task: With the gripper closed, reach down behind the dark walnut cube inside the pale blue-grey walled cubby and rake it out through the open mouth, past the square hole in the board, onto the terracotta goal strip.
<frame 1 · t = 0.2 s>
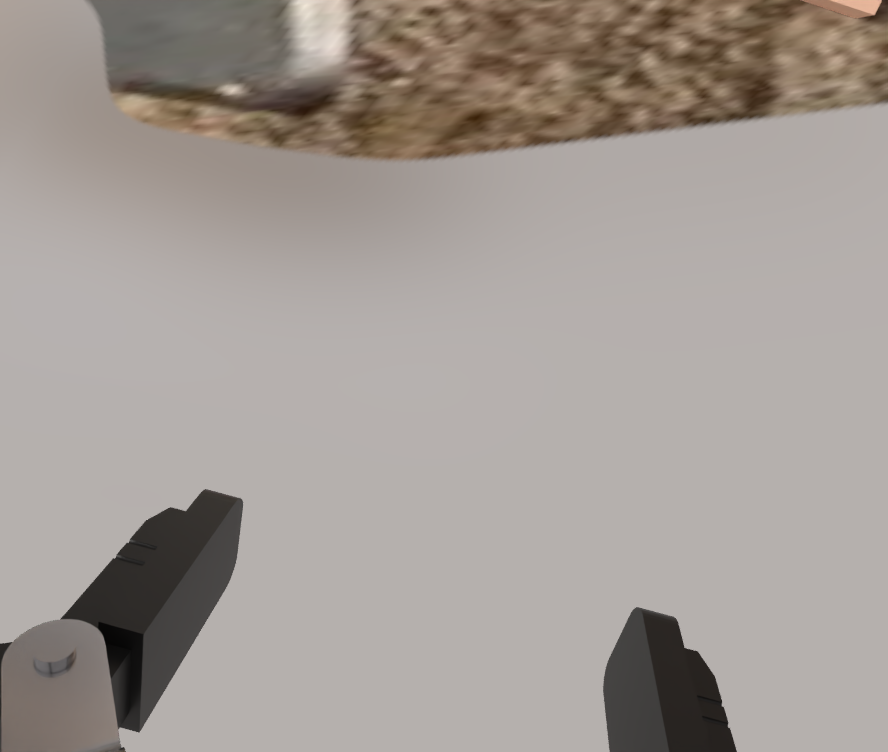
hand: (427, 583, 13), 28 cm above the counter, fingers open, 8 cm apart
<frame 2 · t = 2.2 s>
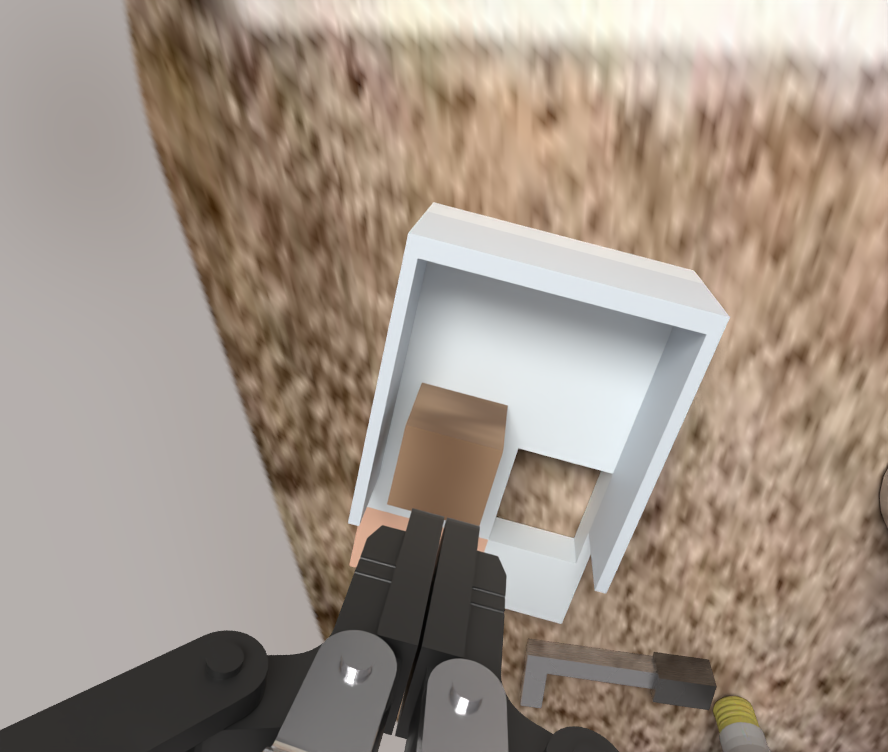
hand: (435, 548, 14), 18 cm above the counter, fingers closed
light bulb: (729, 697, 38), on the counter
walnut cube: (454, 431, 31), point 2 cm above the counter, touching cubby
hook tool: (597, 656, 38), on the counter
cubby: (502, 432, 33), on the counter
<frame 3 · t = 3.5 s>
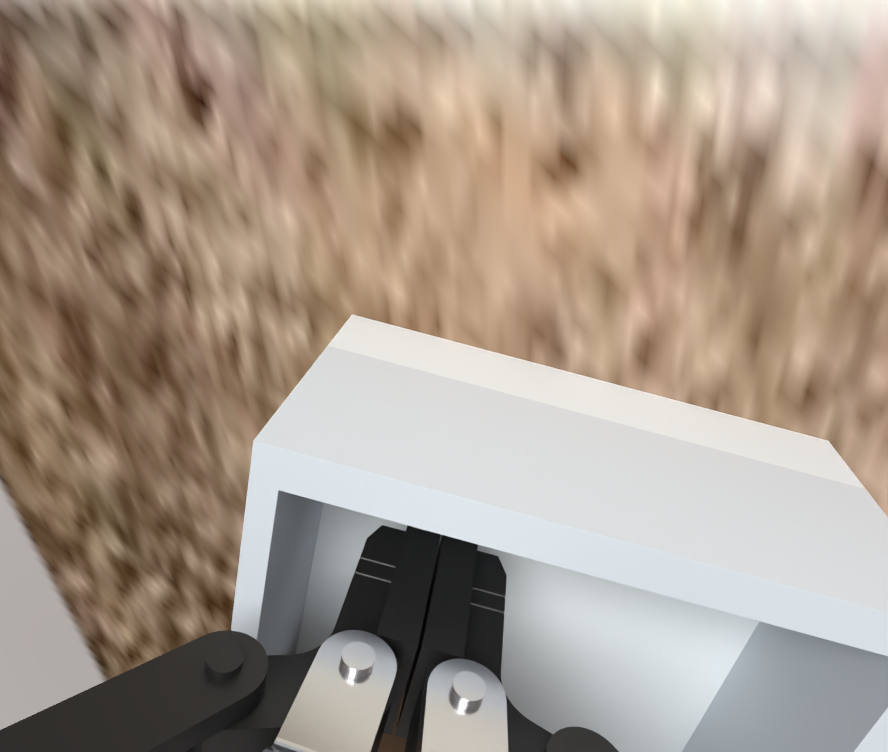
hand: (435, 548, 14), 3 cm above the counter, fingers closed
walnut cube: (398, 693, 18), point 2 cm above the counter, touching cubby
cubby: (482, 669, 20), on the counter
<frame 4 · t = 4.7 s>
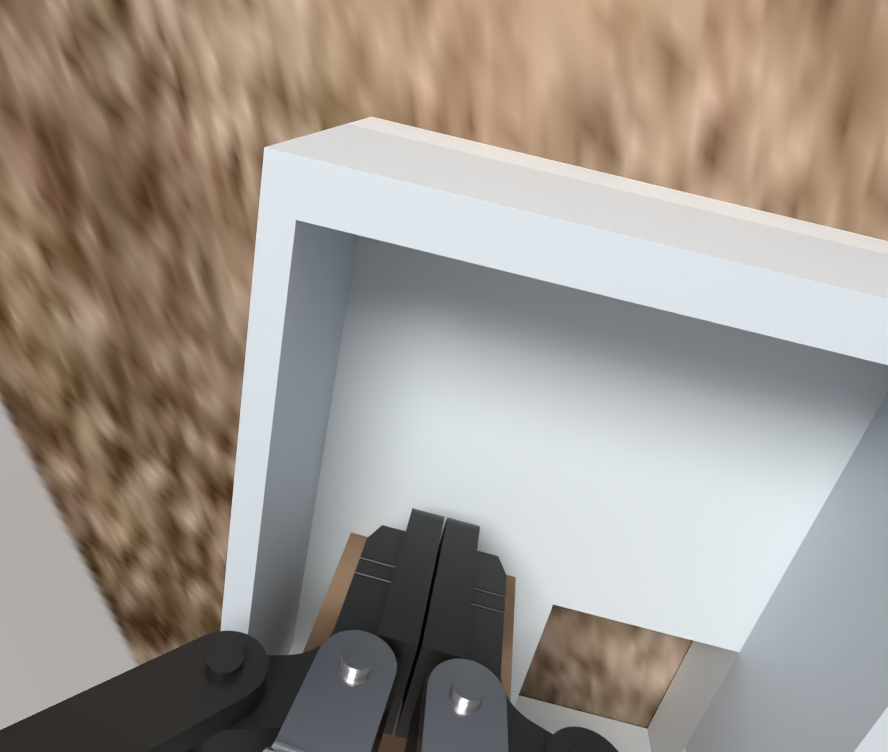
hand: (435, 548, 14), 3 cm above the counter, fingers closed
walnut cube: (415, 615, 17), point 2 cm above the counter, touching gripper
cubby: (519, 557, 18), on the counter
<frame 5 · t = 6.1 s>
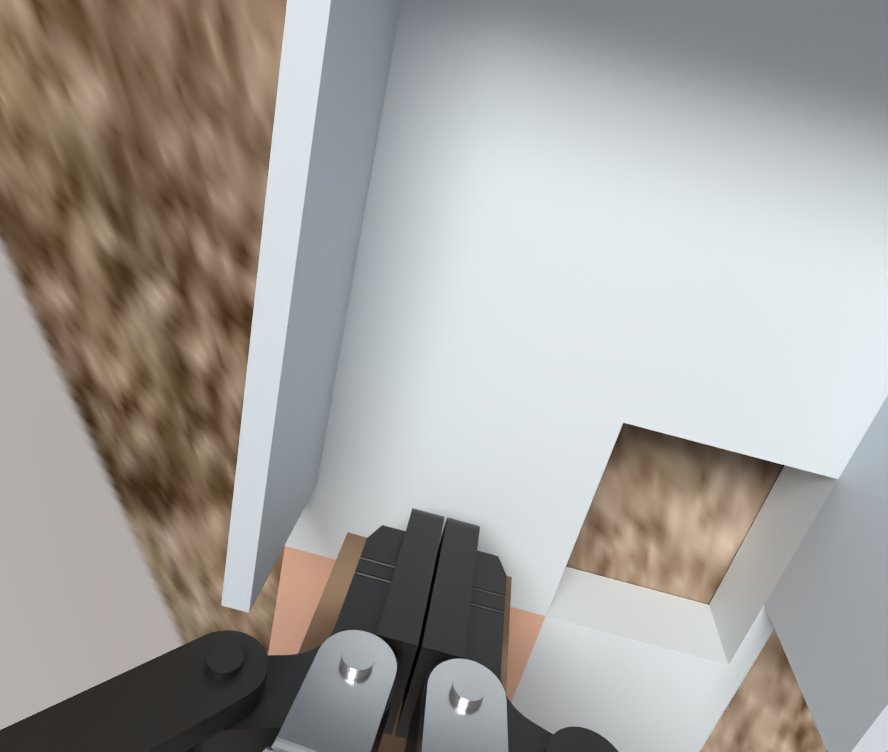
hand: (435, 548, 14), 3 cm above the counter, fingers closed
walnut cube: (411, 615, 17), point 2 cm above the counter, touching cubby, gripper
cubby: (575, 392, 16), on the counter
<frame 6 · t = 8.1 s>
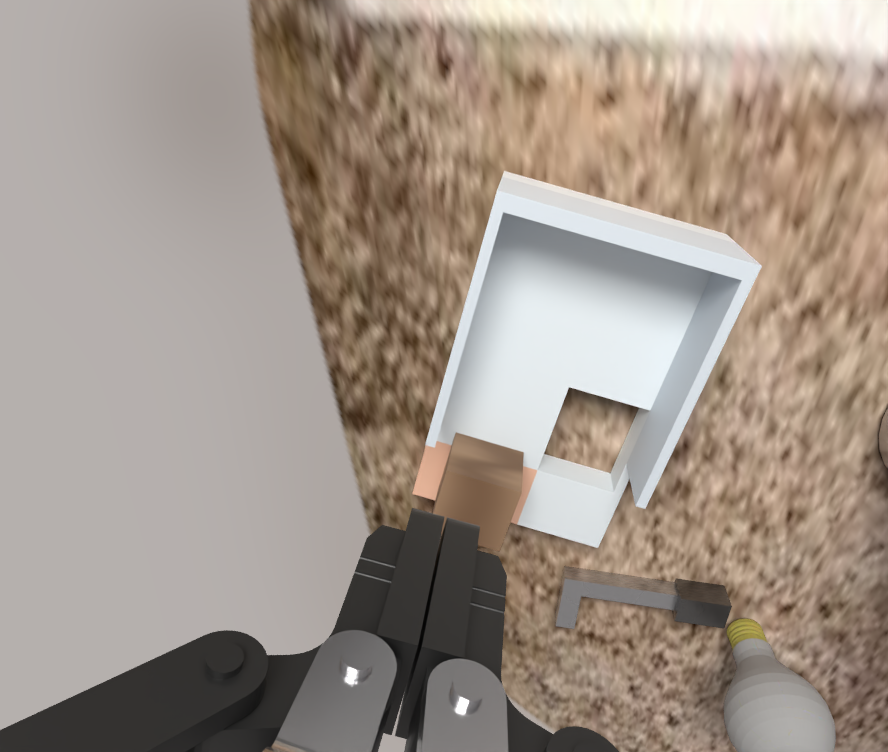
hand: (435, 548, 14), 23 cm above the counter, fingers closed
light bulb: (741, 621, 43), on the counter
walnut cube: (480, 470, 39), point 2 cm above the counter, touching cubby
hook tool: (625, 582, 43), on the counter
cubby: (552, 375, 38), on the counter
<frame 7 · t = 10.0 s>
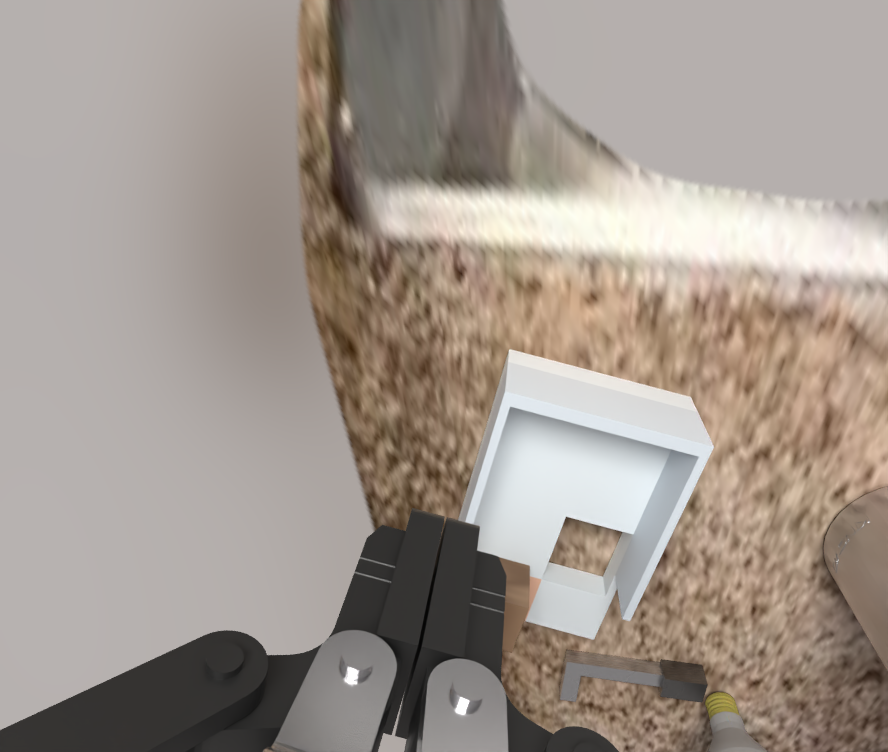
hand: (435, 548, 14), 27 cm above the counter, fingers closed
light bulb: (717, 693, 51), on the counter
walnut cube: (493, 579, 46), point 2 cm above the counter, touching cubby
hook tool: (618, 662, 51), on the counter
cubby: (551, 501, 45), on the counter
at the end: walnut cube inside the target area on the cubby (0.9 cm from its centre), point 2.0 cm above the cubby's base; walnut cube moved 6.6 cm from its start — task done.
